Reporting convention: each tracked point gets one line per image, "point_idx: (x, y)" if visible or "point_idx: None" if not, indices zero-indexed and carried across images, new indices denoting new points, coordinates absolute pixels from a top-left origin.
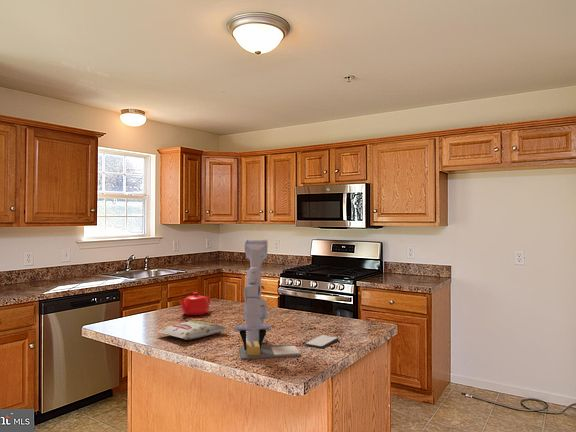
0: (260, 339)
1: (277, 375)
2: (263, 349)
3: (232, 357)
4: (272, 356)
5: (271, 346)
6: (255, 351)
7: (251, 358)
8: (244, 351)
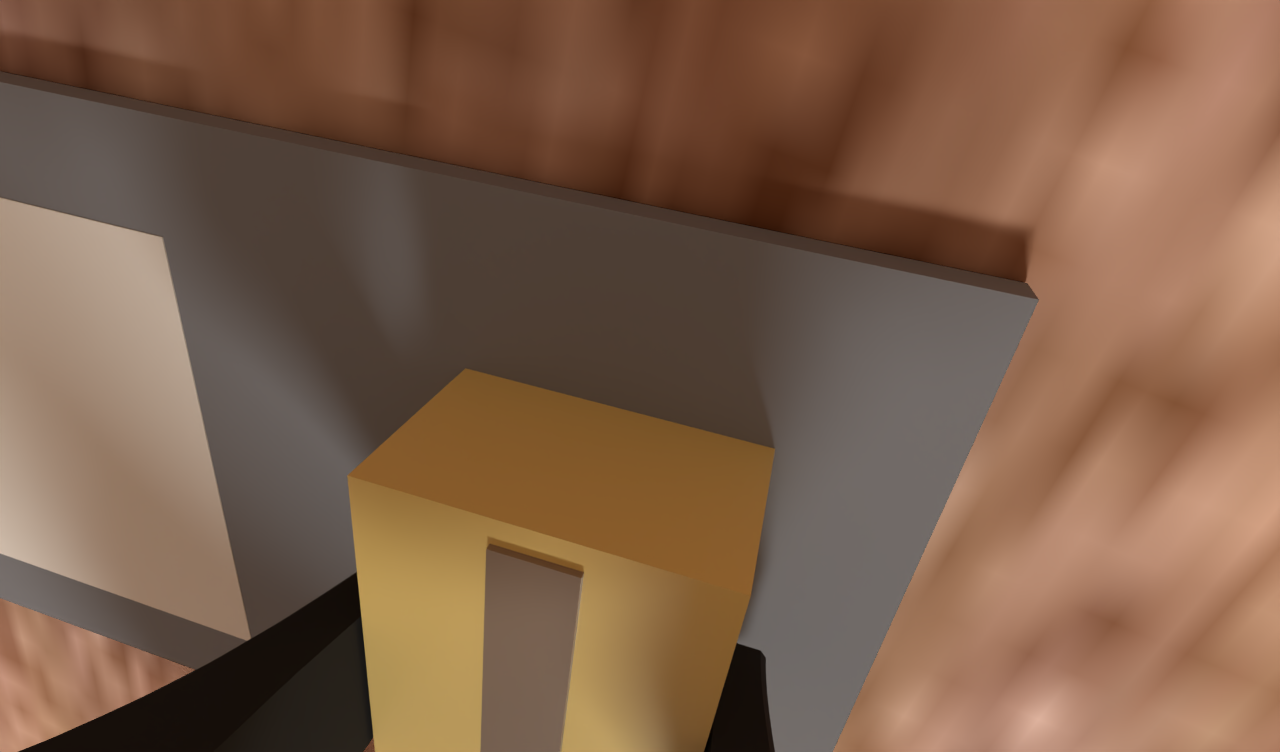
0: (208, 733)
1: None
2: None
3: (1149, 538)
4: (198, 125)
5: None
6: (535, 436)
7: (722, 225)
8: None
